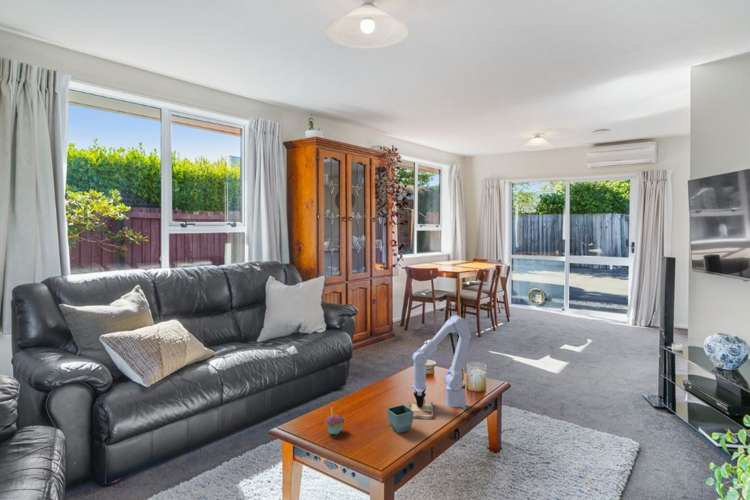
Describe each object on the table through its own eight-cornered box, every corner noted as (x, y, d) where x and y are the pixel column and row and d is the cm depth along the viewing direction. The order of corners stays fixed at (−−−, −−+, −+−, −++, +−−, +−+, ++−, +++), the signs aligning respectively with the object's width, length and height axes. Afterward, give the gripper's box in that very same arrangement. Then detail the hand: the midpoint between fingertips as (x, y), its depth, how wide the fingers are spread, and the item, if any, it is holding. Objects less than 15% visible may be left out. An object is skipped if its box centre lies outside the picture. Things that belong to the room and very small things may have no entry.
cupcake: (336, 438, 189) (335, 409, 188) (320, 433, 193) (319, 406, 193) (348, 430, 196) (347, 403, 196) (332, 426, 201) (332, 399, 200)
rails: (432, 406, 220) (432, 401, 220) (432, 421, 204) (432, 416, 204) (408, 406, 222) (407, 401, 222) (406, 420, 205) (406, 415, 205)
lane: (432, 406, 220) (432, 404, 220) (432, 421, 204) (432, 418, 204) (408, 406, 222) (407, 403, 222) (406, 420, 205) (406, 418, 205)
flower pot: (396, 436, 189) (396, 415, 189) (386, 428, 197) (386, 408, 197) (414, 432, 194) (414, 411, 193) (403, 424, 201) (403, 404, 201)
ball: (425, 405, 220) (425, 394, 220) (425, 409, 215) (425, 398, 215) (415, 404, 220) (414, 394, 220) (414, 408, 216) (414, 398, 215)
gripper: (411, 372, 225) (412, 399, 225) (410, 381, 210) (411, 410, 211) (426, 372, 224) (426, 399, 224) (426, 382, 210) (426, 411, 210)
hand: (420, 405), depth 218 cm, fingers closed on ball, 5 cm apart
